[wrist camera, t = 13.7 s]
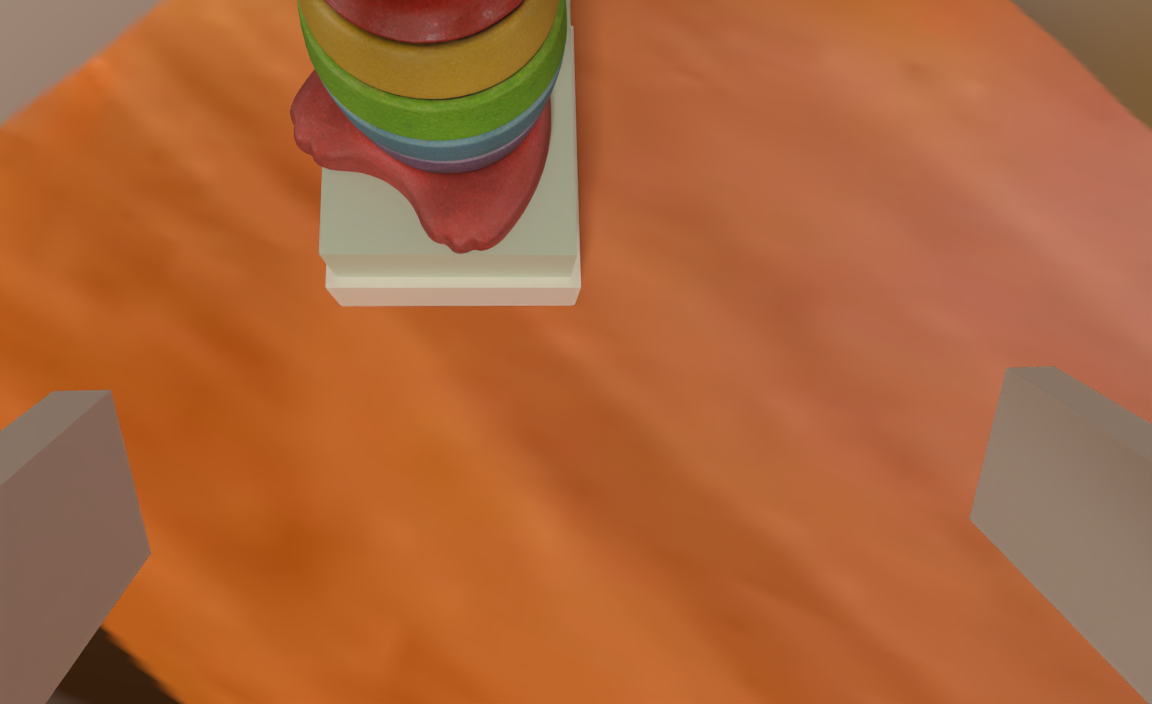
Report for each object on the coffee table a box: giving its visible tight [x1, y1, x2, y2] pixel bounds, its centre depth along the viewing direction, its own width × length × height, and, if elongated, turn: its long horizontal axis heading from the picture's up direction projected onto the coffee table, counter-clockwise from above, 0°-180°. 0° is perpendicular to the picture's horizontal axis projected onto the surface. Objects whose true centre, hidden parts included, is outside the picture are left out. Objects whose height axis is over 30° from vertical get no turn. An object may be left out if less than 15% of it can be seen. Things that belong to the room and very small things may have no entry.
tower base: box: [319, 0, 581, 306], centre depth 37 cm, size 12×14×7 cm
